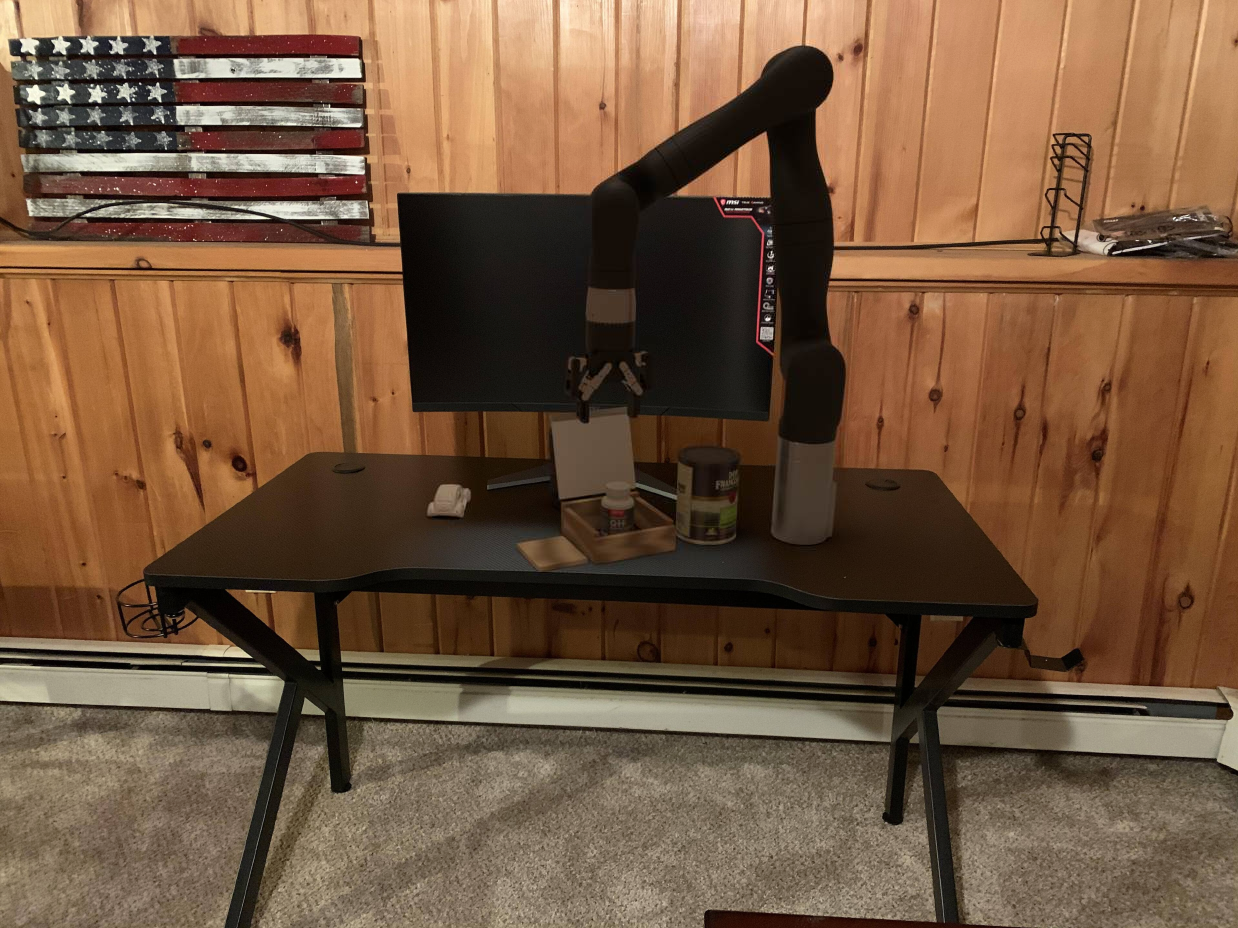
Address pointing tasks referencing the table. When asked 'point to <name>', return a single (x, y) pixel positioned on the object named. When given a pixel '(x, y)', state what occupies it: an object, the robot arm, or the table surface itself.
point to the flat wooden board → (551, 553)
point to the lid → (592, 452)
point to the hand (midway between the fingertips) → (608, 419)
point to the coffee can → (707, 494)
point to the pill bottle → (617, 509)
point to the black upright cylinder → (553, 478)
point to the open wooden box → (586, 519)
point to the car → (449, 501)
